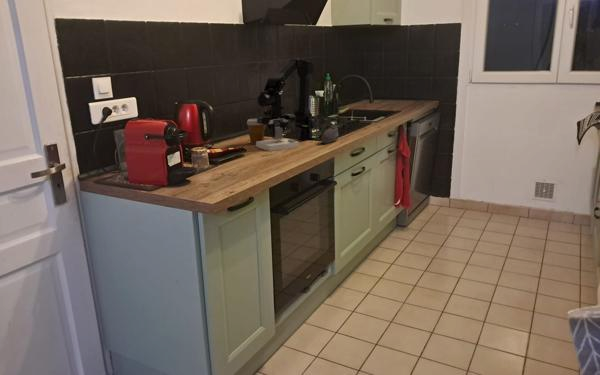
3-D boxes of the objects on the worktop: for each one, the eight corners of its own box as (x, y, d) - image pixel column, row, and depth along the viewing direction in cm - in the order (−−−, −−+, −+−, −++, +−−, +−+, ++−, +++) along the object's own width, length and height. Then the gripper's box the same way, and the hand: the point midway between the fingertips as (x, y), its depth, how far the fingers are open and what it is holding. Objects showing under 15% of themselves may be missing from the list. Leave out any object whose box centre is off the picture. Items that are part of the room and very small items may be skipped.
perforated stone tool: (326, 145, 241) (326, 131, 239) (317, 144, 244) (317, 130, 242) (341, 140, 253) (341, 127, 251) (332, 139, 256) (332, 126, 254)
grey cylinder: (278, 138, 241) (278, 126, 240) (283, 140, 238) (282, 127, 236) (271, 139, 239) (271, 127, 238) (275, 140, 236) (275, 128, 234)
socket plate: (284, 142, 249) (284, 136, 248) (298, 147, 238) (298, 140, 237) (256, 146, 241) (256, 139, 240) (270, 151, 230) (269, 144, 229)
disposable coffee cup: (269, 141, 252) (268, 118, 249) (262, 145, 243) (261, 121, 240) (251, 141, 255) (250, 118, 251) (244, 144, 246) (243, 121, 243)
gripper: (284, 101, 245) (285, 132, 250) (251, 104, 236) (252, 136, 240) (296, 103, 236) (296, 135, 240) (261, 106, 227) (263, 139, 231)
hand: (277, 136), depth 238 cm, fingers closed on grey cylinder, 4 cm apart
